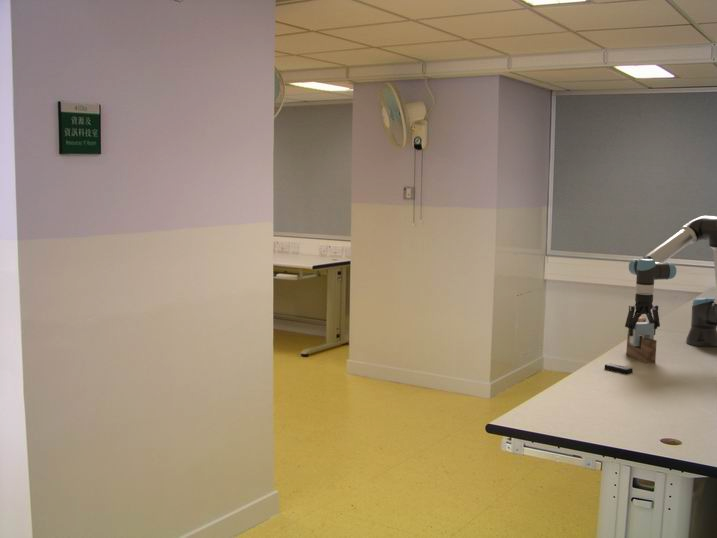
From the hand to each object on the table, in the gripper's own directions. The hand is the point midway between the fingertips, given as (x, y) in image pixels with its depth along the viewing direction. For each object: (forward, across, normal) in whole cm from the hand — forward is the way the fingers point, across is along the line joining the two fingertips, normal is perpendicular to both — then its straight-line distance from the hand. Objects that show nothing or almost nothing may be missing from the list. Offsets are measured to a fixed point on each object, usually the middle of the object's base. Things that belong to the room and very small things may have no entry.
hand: (641, 342), depth 358 cm
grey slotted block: (+1, 0, 0) cm, 1 cm away
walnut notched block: (+7, 0, 0) cm, 7 cm away
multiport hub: (+8, +23, +18) cm, 30 cm away
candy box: (+8, -8, -16) cm, 19 cm away
